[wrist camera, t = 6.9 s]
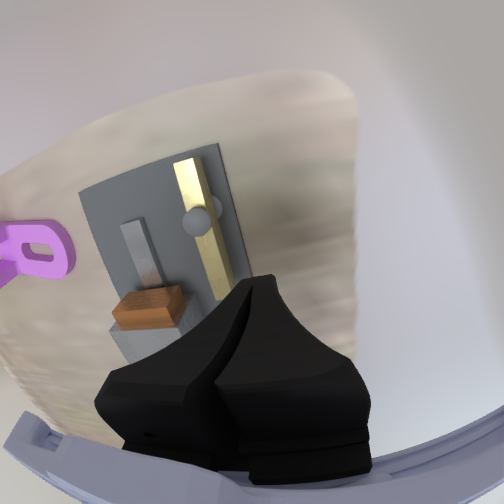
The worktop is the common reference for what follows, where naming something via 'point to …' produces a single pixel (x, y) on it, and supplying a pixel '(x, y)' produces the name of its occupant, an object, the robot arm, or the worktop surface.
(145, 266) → the block
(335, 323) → the worktop surface
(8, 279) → the bracket
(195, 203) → the keeper bar
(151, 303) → the orange block with stem
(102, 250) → the grey latch board
